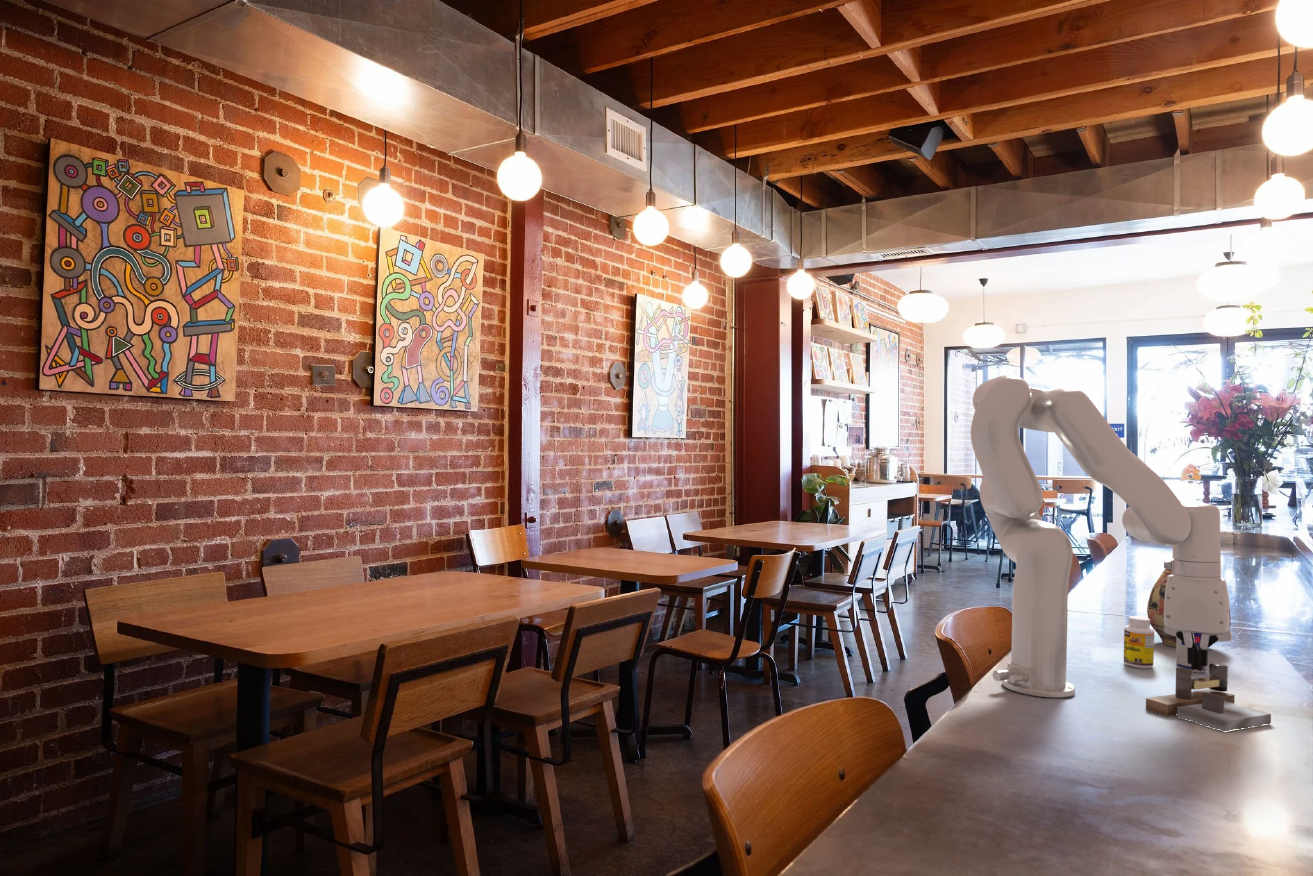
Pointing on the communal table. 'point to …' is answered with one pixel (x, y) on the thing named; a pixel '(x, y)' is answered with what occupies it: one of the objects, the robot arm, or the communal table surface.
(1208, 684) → the swing bar
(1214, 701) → the slab with upright posts
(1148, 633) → the supplement bottle
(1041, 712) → the communal table surface
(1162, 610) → the ceramic jug
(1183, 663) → the energy drink
